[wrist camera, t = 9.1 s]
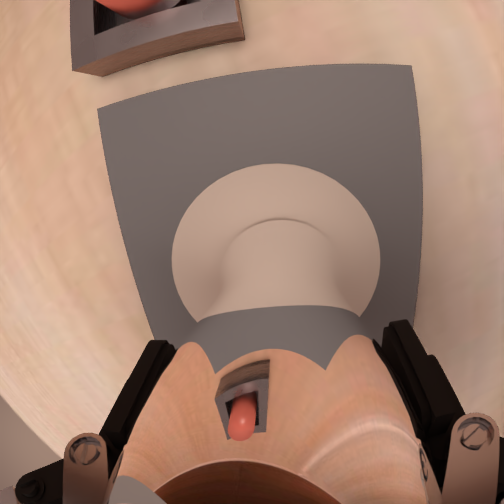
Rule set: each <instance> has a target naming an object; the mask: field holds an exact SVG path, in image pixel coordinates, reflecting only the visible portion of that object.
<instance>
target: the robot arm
mask: <svg viewBox="0 0 504 504" xmlns="http://www.w3.org/2000/svg"><path fill="white" fill-rule="evenodd" d="M381 348H382V349H383V350H384V352H385V353H386V355H387V357H388V358H389V360H390V362H391V363H392V365H393V367H394V368H395V370H396V372H397V373H398V375H399V377H400V378H401V380H402V382H403V384H404V385H405V387H406V389H407V391H408V393H409V395H410V397H411V400H412V402H413V405H414V407H415V409H416V412H417V414H418V417H419V419H420V422H421V424H422V427H423V429H424V432H425V434H426V437H427V440H428V444H429V447H430V451H431V454H432V458H433V461H434V465H435V469H436V473H437V477H438V481H439V485H440V490H441V495H442V501H443V504H504V438H502V437H499V428H498V426H497V424H496V422H495V421H494V420H493V419H492V418H491V417H489V416H487V415H485V414H482V413H469V414H465V412H464V410H463V408H462V406H461V404H460V402H459V400H458V398H457V396H456V394H455V392H454V390H453V388H452V386H451V384H450V383H449V381H448V379H447V377H446V375H445V373H444V371H443V369H442V368H441V366H440V364H439V362H438V360H437V359H436V357H435V356H434V355H427V353H426V352H425V350H424V348H423V346H422V344H421V342H420V341H419V339H418V337H417V335H416V333H415V332H414V330H413V328H412V326H411V325H410V323H409V321H408V320H407V319H403V320H397V321H391V322H389V326H388V327H384V329H383V338H382V347H381ZM175 351H176V350H175V347H174V345H173V344H169V342H168V341H167V340H150V341H149V342H148V344H147V346H146V348H145V350H144V351H143V353H142V355H141V357H140V359H139V360H138V362H137V364H136V366H135V368H134V370H133V371H132V373H131V375H130V377H129V379H128V380H127V381H126V383H125V385H124V387H123V389H122V391H121V393H120V394H119V396H118V398H117V400H116V402H115V404H114V406H113V408H112V410H111V412H110V413H109V415H108V417H107V419H106V421H105V423H104V425H103V427H102V429H101V431H100V433H99V435H98V434H94V433H83V434H80V435H78V436H76V437H74V438H73V439H72V440H71V441H70V442H69V443H68V444H67V446H66V448H65V452H64V459H61V460H59V461H57V462H55V463H52V464H50V465H47V466H45V467H42V468H40V469H37V470H35V471H32V472H30V473H27V474H25V475H24V476H22V477H21V478H20V479H19V481H18V483H17V484H16V488H14V487H13V486H10V487H8V488H5V489H3V490H0V504H102V501H103V498H104V495H105V492H106V488H107V485H108V482H109V479H110V476H111V474H112V471H113V469H114V466H115V463H116V461H117V458H118V456H119V453H120V451H121V448H122V446H123V443H124V441H125V438H126V436H127V433H128V431H129V429H130V427H131V425H132V423H133V421H134V419H135V417H136V415H137V413H138V411H139V409H140V407H141V405H142V403H143V401H144V399H145V397H146V396H147V394H148V392H149V390H150V388H151V386H152V385H153V383H154V382H155V380H156V379H157V377H158V376H159V374H160V373H161V371H162V370H163V368H164V367H165V365H166V364H167V362H168V361H169V359H170V358H171V356H172V355H173V353H174V352H175Z"/></svg>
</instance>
